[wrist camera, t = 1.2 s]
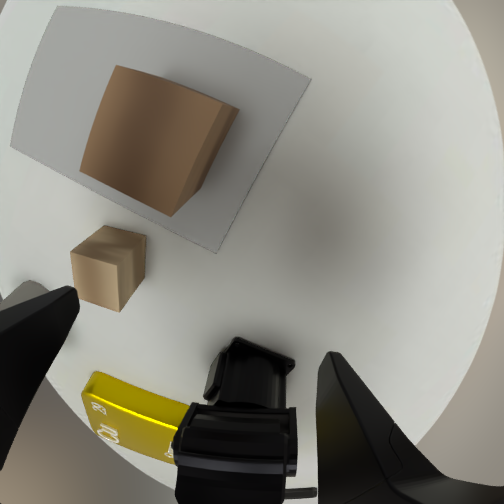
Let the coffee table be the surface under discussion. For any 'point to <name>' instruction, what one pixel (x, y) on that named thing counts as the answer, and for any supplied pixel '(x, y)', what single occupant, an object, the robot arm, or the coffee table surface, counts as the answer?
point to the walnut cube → (155, 138)
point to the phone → (300, 493)
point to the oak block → (109, 267)
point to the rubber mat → (166, 66)
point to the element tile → (132, 416)
